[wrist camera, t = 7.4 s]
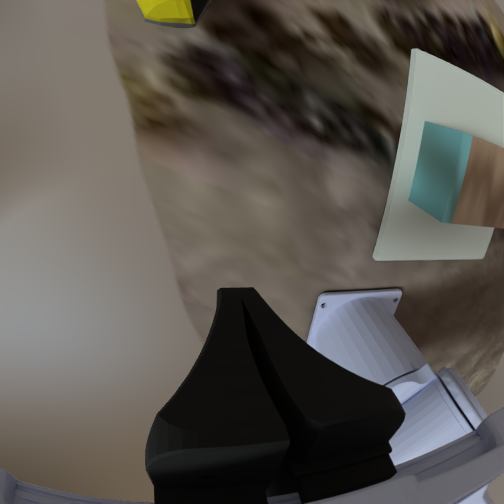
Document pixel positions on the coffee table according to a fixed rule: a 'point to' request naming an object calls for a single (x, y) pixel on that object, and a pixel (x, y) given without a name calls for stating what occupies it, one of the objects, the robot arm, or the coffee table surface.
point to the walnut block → (459, 178)
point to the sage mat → (415, 113)
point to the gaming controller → (173, 12)
